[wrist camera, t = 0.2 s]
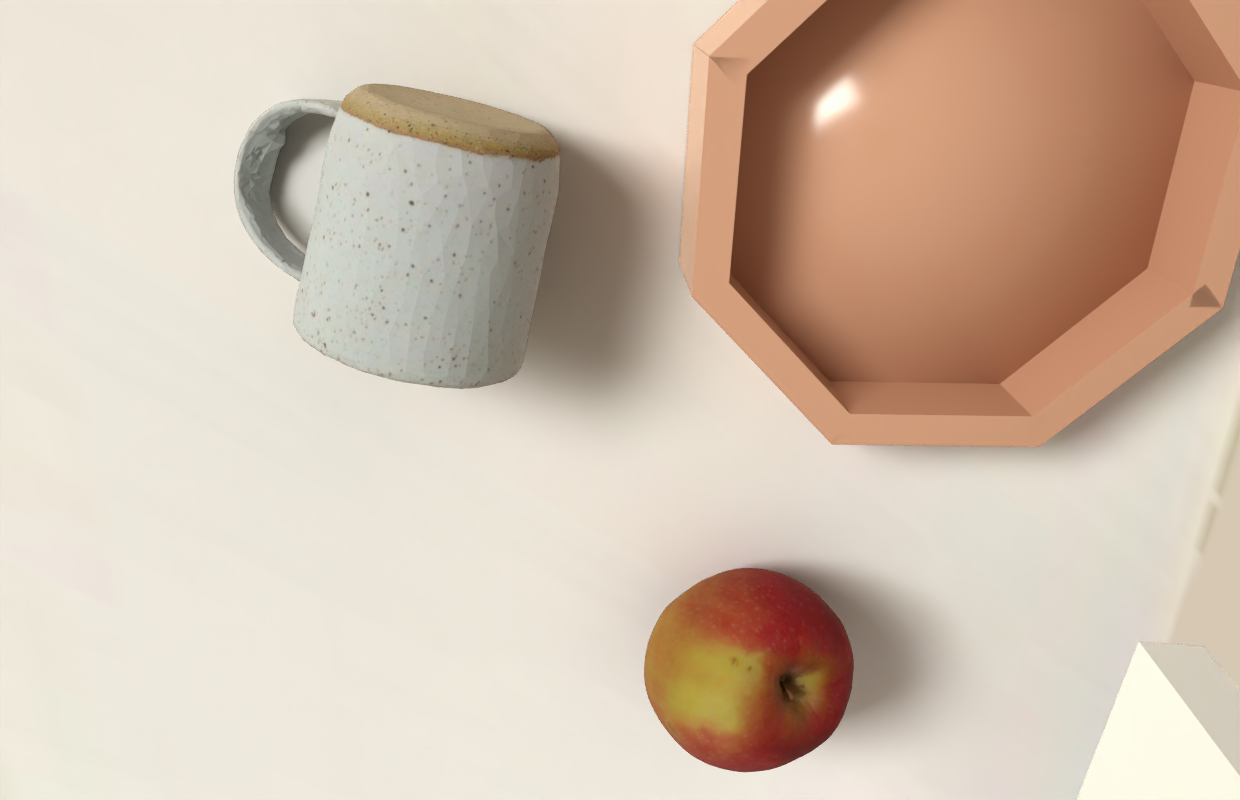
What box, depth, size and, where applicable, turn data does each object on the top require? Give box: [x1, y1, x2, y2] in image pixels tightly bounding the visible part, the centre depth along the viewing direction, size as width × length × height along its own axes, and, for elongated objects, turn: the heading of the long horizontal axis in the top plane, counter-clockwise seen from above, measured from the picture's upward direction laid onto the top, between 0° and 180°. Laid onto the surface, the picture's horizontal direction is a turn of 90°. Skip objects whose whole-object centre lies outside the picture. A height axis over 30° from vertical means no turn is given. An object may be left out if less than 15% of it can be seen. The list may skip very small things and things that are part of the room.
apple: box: [644, 568, 854, 772], centre depth 41 cm, size 8×8×8 cm
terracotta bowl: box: [679, 0, 1240, 447], centre depth 35 cm, size 18×18×4 cm
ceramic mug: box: [234, 84, 560, 389], centre depth 33 cm, size 11×8×8 cm
